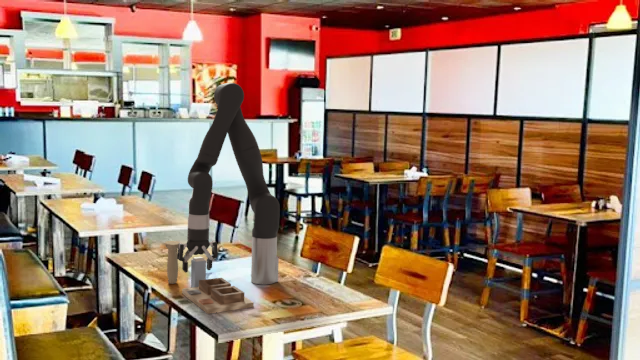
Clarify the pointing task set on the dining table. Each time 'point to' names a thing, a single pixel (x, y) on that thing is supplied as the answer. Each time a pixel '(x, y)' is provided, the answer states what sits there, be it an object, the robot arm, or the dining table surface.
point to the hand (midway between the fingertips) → (197, 270)
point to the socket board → (217, 296)
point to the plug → (197, 270)
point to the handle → (172, 261)
